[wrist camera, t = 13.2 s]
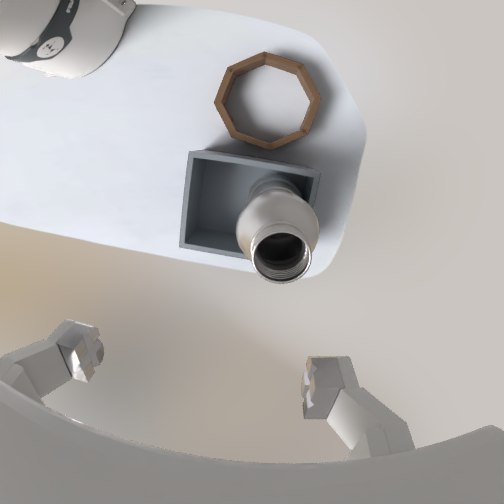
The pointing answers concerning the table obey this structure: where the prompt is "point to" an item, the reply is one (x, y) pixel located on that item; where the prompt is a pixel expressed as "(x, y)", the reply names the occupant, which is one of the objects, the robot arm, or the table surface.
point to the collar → (277, 63)
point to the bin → (228, 196)
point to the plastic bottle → (277, 229)
